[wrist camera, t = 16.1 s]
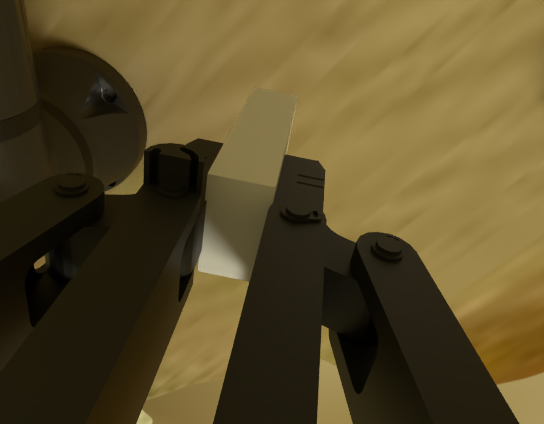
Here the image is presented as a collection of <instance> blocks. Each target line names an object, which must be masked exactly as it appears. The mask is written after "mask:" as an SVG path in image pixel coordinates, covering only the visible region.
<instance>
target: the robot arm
mask: <svg viewBox="0 0 544 424" xmlns="http://www.w3.org/2000/svg"><path fill="white" fill-rule="evenodd" d="M297 98H298V96H297V95H292V94H287V93H282V92H277V91H272V90H267V89H262V88H256V87H254V88H253V90H252V92H251V94H250V96H249V97H248V99H247V101H246V103H245V105H244V107H243V109H242V110H241V112H240V114H239V116H238V118H237V120H236V122H235V124H234V125H233V127H232V129H231V131H230V133H229V135H228V137H227V138H226V140H225V142H224V143H219V142H214V141H209V140H204V139H199V138H198V139H196V140H194V141H192V142H190V143H188V144H186V145H182V144H173V143H167V144H158V145H154V146H150V147H149V148H147V149H146V150H145V147H146V140H147V129H146V121H145V117H144V114H143V110H142V108H141V105H140V103H139V101H138V99H137V97H136V95H135V94H134V92H133V90H132V89H131V87H130V86H129V85H128V83H127V82H126V81H125V80H124V79H123V78H122V76H121V75H120V74H119V73H118V72H117V71H115V70H114V69H113V68H112V67H111V66H109V65H108V64H107V63H105V62H104V61H102V60H101V59H99V58H97V57H95V56H93V55H91V54H89V53H87V52H84V51H81V50H78V49H74V48H68V47H49V48H44V49H41V50H38V51H35V52H33V53H32V47H31V41H30V35H29V29H28V23H27V17H26V11H25V5H24V0H0V424H136V423H137V420H138V418H139V415H140V413H141V410H142V408H143V405H144V403H145V401H146V398H147V396H148V393H149V391H150V388H151V386H152V383H153V381H154V378H155V376H156V373H157V371H158V369H159V366H160V364H161V361H162V359H163V356H164V354H165V351H166V349H167V346H168V344H169V342H170V339H171V337H172V334H173V332H174V329H175V327H176V324H177V322H178V319H179V317H180V314H181V312H182V310H183V307H184V305H185V302H186V300H187V297H188V295H189V292H190V290H191V287H192V285H193V276H194V268H195V265H196V263H197V261H198V258H199V264H198V271H200V272H205V273H210V274H215V275H220V276H225V277H229V278H234V279H239V280H244V281H249V286H248V290H247V294H246V297H245V301H244V305H243V309H242V313H241V317H240V321H239V325H238V328H237V332H236V336H235V340H234V344H233V348H232V352H231V356H230V359H229V363H228V367H227V371H226V375H225V379H224V383H223V387H222V391H221V394H220V398H219V402H218V406H217V410H216V414H215V418H214V422H213V424H317V406H318V386H319V366H320V345H321V325H323V326H325V327H327V328H329V340H330V343H331V347H332V350H333V354H334V358H335V361H336V365H337V368H338V372H339V375H340V379H341V382H342V386H343V389H344V393H345V397H346V401H347V404H348V408H349V411H350V415H351V418H352V422H353V424H519V422H518V421H517V419H516V418H515V416H514V414H513V412H512V411H511V409H510V408H509V406H508V404H507V403H506V401H505V399H504V397H503V396H502V394H501V392H500V391H499V389H498V388H497V386H496V384H495V382H494V381H493V379H492V377H491V376H490V374H489V372H488V371H487V369H486V367H485V366H484V364H483V362H482V361H481V359H480V357H479V356H478V354H477V352H476V351H475V349H474V347H473V346H472V344H471V342H470V341H469V339H468V337H467V335H466V334H465V332H464V330H463V329H462V327H461V325H460V324H459V322H458V320H457V319H456V317H455V315H454V314H453V312H452V310H451V309H450V307H449V305H448V304H447V302H446V300H445V299H444V297H443V295H442V294H441V292H440V290H439V289H438V287H437V285H436V284H435V282H434V280H433V279H432V277H431V275H430V274H429V272H428V270H427V269H426V267H425V265H424V264H423V262H422V260H421V259H420V257H419V255H418V254H417V252H416V251H415V250H414V249H413V248H412V246H411V245H410V244H408V243H407V242H405V241H403V240H402V239H400V238H399V237H396V236H393V235H391V234H387V233H380V232H371V233H366V234H364V235H361V236H360V237H359V239H358V240H357V242H356V243H355V242H353V241H350V240H348V239H346V238H344V237H342V236H340V235H338V234H336V233H335V232H333V231H332V230H331V229H330V228H329V227H328V226H327V225H326V217H325V214H324V213H323V202H324V184H325V169H324V168H323V167H322V165H321V164H320V162H319V161H315V160H310V159H305V158H300V157H295V156H290V155H287V149H288V144H289V139H290V134H291V129H292V124H293V119H294V114H295V108H296V103H297ZM143 154H144V184H143V185H142V187H141V188H140V189H139V191H138V192H137V193H136V194H132V195H107V194H105V192H104V191H107V190H110V189H112V188H114V187H116V186H117V185H119V184H120V183H121V182H123V181H124V180H125V179H126V178H127V177H128V176H129V175H130V174H131V173H132V171H133V170H134V169H135V168H136V167H137V165H138V164H139V162H140V161H141V159H142V157H143ZM44 255H45V261H46V263H45V264H44V265H42V266H41V267H40V268H37V269H35V268H34V263H35V262H36V261H37V260H38V259H40V258H41V257H43V256H44Z"/></svg>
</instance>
